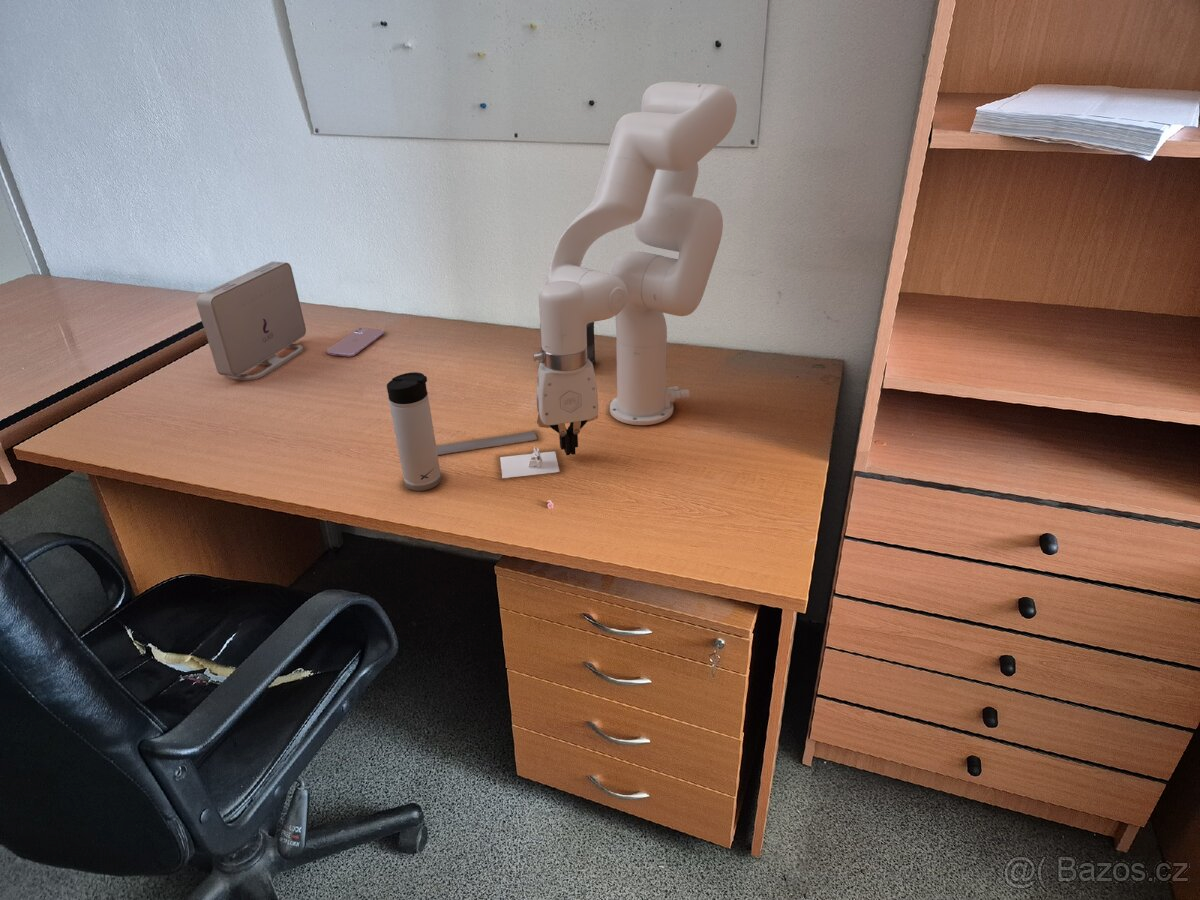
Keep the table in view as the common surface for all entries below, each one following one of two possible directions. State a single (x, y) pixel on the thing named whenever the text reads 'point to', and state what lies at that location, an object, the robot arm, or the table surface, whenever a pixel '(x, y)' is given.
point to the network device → (253, 320)
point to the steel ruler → (486, 443)
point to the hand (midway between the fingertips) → (569, 451)
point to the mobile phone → (355, 342)
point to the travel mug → (414, 431)
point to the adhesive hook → (529, 464)
